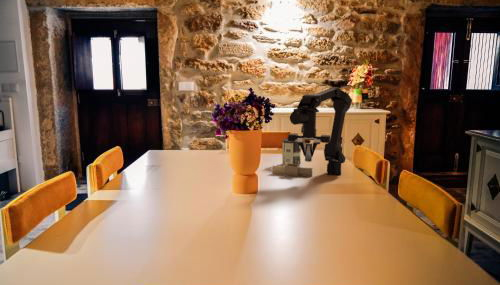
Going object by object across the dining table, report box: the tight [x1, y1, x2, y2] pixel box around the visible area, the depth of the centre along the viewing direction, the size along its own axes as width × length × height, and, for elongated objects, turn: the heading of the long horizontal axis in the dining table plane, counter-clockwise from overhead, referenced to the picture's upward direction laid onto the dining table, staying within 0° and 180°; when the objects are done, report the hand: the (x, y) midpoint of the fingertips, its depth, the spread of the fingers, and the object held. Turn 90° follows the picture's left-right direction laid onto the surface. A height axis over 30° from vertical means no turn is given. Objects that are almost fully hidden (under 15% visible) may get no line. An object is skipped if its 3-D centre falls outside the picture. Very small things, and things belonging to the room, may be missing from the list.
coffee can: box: [281, 137, 302, 166], centre depth 201 cm, size 10×10×14 cm
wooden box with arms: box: [272, 163, 313, 178], centre depth 182 cm, size 20×6×5 cm, turn 74°
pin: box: [304, 142, 313, 163], centre depth 168 cm, size 3×3×8 cm
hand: (308, 156), depth 169 cm, fingers closed on pin, 3 cm apart
